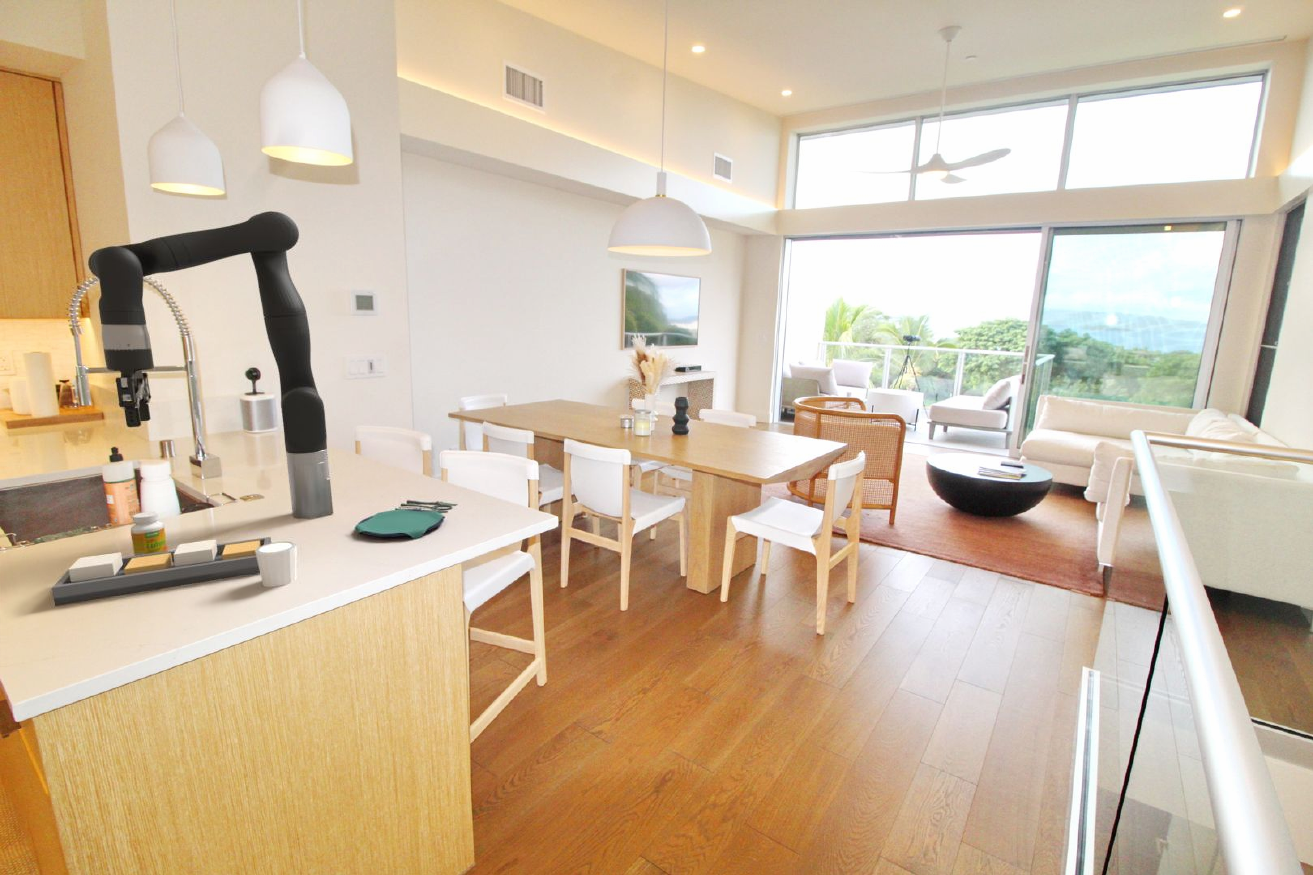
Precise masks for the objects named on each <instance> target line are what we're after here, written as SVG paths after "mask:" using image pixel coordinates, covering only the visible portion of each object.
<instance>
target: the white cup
mask: <svg viewBox="0 0 1313 875" xmlns="http://www.w3.org/2000/svg"><path fill="white" fill-rule="evenodd" d="M297 547H298V546H297V543H296V542H294V541H277V542H271V543H270V544H266V545H263V546H261V547H259V548H257V549H256V550H255V553H256V557H257V561H258V565H259V570H260V573H259V574H260V577H261V582H262V585H263V586H264V587H266V588H277V587H282V586H286V585H288V584H291V583H294V582H295V581H296V580H297V568H298V567H297V564H298V563H297V560H298V559H297V558H298V557H297V555H298V554H297V550H298V548H297Z"/></svg>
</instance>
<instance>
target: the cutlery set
mask: <svg viewBox="0 0 1313 875" xmlns="http://www.w3.org/2000/svg"><path fill="white" fill-rule="evenodd" d="M429 505H432V506H429ZM457 505H459V504H458V503H450V502H443V501H432V502H431V501H430V502H427V501H420V500H418V501H417V500H410V499H407V500H406V503H401V504H400V507H402V508H397V507H395V508H394V509H392V510H387V511H386V510H385V511H382V512H381V511H380V512H377V513H376V514H374V515H371V516H367V517H365V518H363V519H362V520H360V522H358V523H357V524H356V525H355V526H354V530H355V532H357V533H358V534H359V535H363V534H365V535H368V536H373V537H381V538H382V537H383V538H384V537H385V538H386V537H388V538H390V537H393V538H394V537H395V538H396V537H403V536H410V537H411V538H413V539H419V538H421V537H423V535H424V534H425V533H426V532H427V531H430V530H433V529H435V528H437V527H439V526H440V525H441V524H442V523H443V522H444V521H445V518H446V516H444V515H443V514H442V513H448V512H449V511H448V510H450V509H452V508H453V507H456V506H457ZM403 507H410V508H403ZM411 507H413V508H411ZM414 507H415V508H414ZM418 507H419V508H418ZM422 508H427V509H422Z"/></svg>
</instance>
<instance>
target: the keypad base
mask: <svg viewBox="0 0 1313 875" xmlns="http://www.w3.org/2000/svg"><path fill="white" fill-rule="evenodd" d="M259 540H260V545H261V546H263V545H266V544H270V543H272V537H271V536H268V537H259V538H252V539H245V540H238V541H231V542H225V543H218V544H217V543H216V545H217V553H216V556H215V558H214V561H210V562H203V563H196V564H190V565H183V566H176V567H175V561H174V553H175V551H176V549H174V550H167V551H165V552H158V553H151V554H143V555H136V556H135V555H130V556H122V562H123V565H122V566H121V568H120V569H119V570H118V572H117V573H116V574H115V576H110V577H103V578H96V579H89V580H83V581H76V582H71V579H70V574H69V569H68V570H67V571H66V572H65V573H64V574H63V575H62V576H60V578H59V580H57V581H56V582H55V583H54V585H53V586H51V592H52V597H53V603H54V607H61V606H67V605H71V604H72V605H73V604H78V603H80V604H81V603H84V602H91V601H97V600H103V599H110V598H114V597H115V598H117V597H121V596H122V597H123V596H128V595H134V594H140V593H146V592H152V591H159V590H163V589H164V590H165V589H169V588H177V587H182V586H188V585H195V584H201V583H207V582H214V581H219V580H226V579H232V578H238V577H245V576H249V575H250V576H251V575H257V574H260V570H259V565H258V561H257V557H256V556H249V557H242V558H236V559H229V560H223V558H222V554H223V551H224V548H225V545H230V544H238V543H245V542H252V541H259ZM166 553H171V557H172V564H173V565H172V567H171V568H169V569H162V570H156V571H149V572H142V573H136V574H129V575H125V572H124V569H125V567H126V566H127V565H128V563H129V562H130V560H131V559H132V558H138V557H145V556H152V555H159V554H166Z"/></svg>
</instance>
